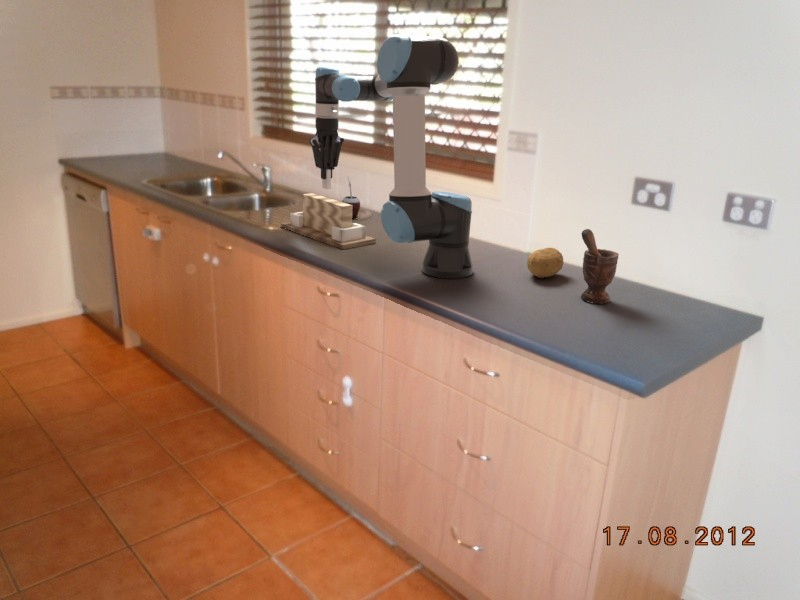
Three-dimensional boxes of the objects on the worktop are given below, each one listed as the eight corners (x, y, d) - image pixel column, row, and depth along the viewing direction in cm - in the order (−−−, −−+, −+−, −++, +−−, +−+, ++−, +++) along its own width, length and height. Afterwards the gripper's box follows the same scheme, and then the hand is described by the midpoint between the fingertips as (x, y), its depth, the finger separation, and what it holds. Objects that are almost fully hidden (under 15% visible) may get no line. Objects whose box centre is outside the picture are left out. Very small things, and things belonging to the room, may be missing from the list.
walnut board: (375, 243, 224) (375, 238, 224) (342, 249, 215) (343, 245, 214) (312, 222, 249) (312, 218, 248) (280, 227, 239) (280, 223, 239)
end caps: (365, 237, 224) (365, 226, 223) (342, 242, 218) (342, 230, 216) (312, 220, 245) (312, 210, 243) (290, 224, 238) (290, 213, 237)
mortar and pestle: (598, 310, 170) (610, 234, 163) (567, 302, 175) (577, 228, 168) (616, 300, 178) (627, 227, 172) (585, 292, 183) (595, 221, 177)
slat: (352, 237, 224) (352, 205, 220) (342, 239, 221) (342, 206, 218) (312, 223, 241) (312, 193, 237) (303, 224, 238) (302, 194, 235)
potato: (516, 278, 194) (518, 251, 191) (538, 268, 204) (541, 243, 201) (546, 285, 188) (549, 258, 185) (568, 275, 198) (571, 249, 196)
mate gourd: (352, 220, 254) (353, 181, 249) (336, 217, 258) (336, 179, 253) (363, 217, 260) (364, 179, 255) (347, 214, 264) (348, 176, 259)
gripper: (317, 118, 212) (317, 192, 220) (349, 117, 220) (348, 188, 228) (303, 116, 217) (304, 188, 225) (335, 115, 225) (334, 184, 233)
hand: (326, 188), depth 226 cm, fingers closed
